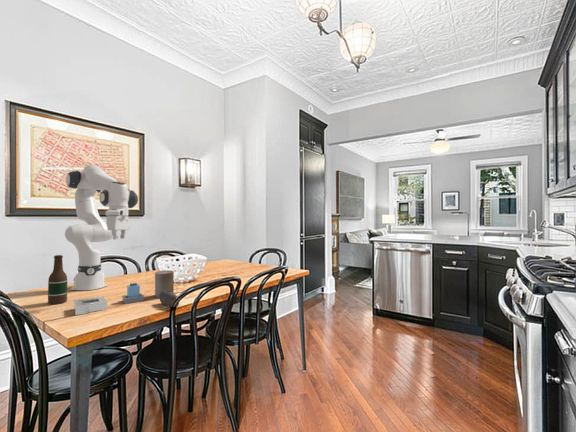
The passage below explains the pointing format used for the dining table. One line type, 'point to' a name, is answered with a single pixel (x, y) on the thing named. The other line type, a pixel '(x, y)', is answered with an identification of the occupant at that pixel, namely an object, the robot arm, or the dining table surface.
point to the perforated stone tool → (167, 298)
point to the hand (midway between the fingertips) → (119, 239)
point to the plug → (133, 290)
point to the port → (89, 305)
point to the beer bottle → (57, 283)
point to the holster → (132, 299)
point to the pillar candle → (164, 282)
